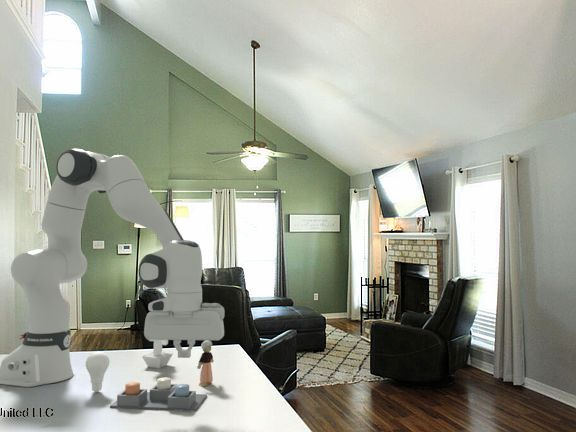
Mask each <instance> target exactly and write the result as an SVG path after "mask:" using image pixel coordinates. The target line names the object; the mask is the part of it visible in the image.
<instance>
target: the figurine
mask: <svg viewBox="0 0 576 432" xmlns="http://www.w3.org/2000/svg"><path fill="white" fill-rule="evenodd" d="M148 341H149V342H153V352H150V353H148V354H145V355H142V356H141V357H142V359H143V361H144V362H145V364H146V365H147V368H155V369H160V368H163V367H166V366H167V365H168V363H169V362H170V361H171V358H172V356H173V354H174V353H172V352H163V346H167V345H168V344H169V340H148Z"/></svg>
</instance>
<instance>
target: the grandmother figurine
mask: <svg viewBox="0 0 576 432" xmlns="http://www.w3.org/2000/svg"><path fill="white" fill-rule="evenodd" d="M212 346H213V342H212V340H203V342H202V343H201V345H200V347H201V349H202V352H203V353H201V356H200V358H199V360H198V363H197V369H198V370H200V376H199V383H198V386H200V387H207V386H208V385H211V384H213V379H214V378H213V369H212V363H214V357H213V353H212V352H211V351H212Z"/></svg>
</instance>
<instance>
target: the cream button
mask: <svg viewBox="0 0 576 432" xmlns="http://www.w3.org/2000/svg"><path fill="white" fill-rule="evenodd" d="M156 384H157V390H170V389H171V384H172V378H170V377H166V376H165V377H159V378H157V380H156Z"/></svg>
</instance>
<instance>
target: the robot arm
mask: <svg viewBox="0 0 576 432" xmlns="http://www.w3.org/2000/svg"><path fill="white" fill-rule="evenodd" d="M56 173H57V174H56V175H55V178H54V181H53V182H52V185H51V187H50V190H49V192H48V193H49V194H48V196H47V200H46V205H45V207H44V208H45V209H44V212H43V216H42V220H41V229H42V231H43V232H44V233H45V234H46V235H47V242H48V243H47V248H41V249H40V248H38V249H37V248H36V249H31V250H28V251H24V252H22V253H21V252H20V253H19V254H17V255H16V256H15V257H14V258H13V260H12V262H11V266H10V273H11V277H12V279H13V280H14V282H15V283H16V284H18V285H19V286H20V287H21V288H22V290H23V291H24V294H25V296H26V300H27V303H28V304H27V305H28V331H26V332H24V333H23V334H20V335H19V337H20V338H19V340H23V341H22V344H20V345H19V346H18V347H17V348H15V349H14V350H13V351H11V352H9V354H8V355H6V356H5V357H4V358H3V359H2V360H1V363H0V385H7V386H8V385H9V386H15V387H25V388H31V387H32V388H33V387H36V386H40V385H47V384H53V383H54V384H55V383H58V382H62V381H66V380H68V379H70V378H72V377H73V376H74V372H73V371H74V370H73V368H72V364H71V363H72V362H71V355H70V348H71V347H70V346H71V335H72V334H71V333H72V332H71V331H72V330H71V329H70V315H71V313H70V312H71V305H70V302H69V301H68V300H67V299H65V298H64V296H63V295H62V292H61V288H60V285H61V284H68V283H71V282H73V281H77V280H79V279H81V278H82V277H83V276H84V275H85V273H86V272H87V269H88V259H87V257H86V256H85V254H84V253H83V252H82V246H81V243H82V242H81V233H82V227H83V222H84V218H85V213H86V208H87V205H88V200H89V197H90V195H91V194H92V193H94V192H96V191H97V192H98V193H99V194H106V195H107V197H108V201H109V203H110V205H111V207H112V209H113V210H114V212H115V214H116V215H118V217H120V218H121V219H123V220H124V221H127V222H129V223H133V224H137V225H139V226H142V227H144V228H145V229H148V230H149V231H151V232H152V233H153V234H155V236H156V237H157V239H158V241H159V242H160V243H161V246H162V247H163V248H161V249H159V250H157V251H154V252H152V253H148V254H146V255H145V256H143V258H142V259H141V260H140V262H139V266H138V271H137V272H138V277H139V281H140V282H141V284H142V285H143V286H144V287H146V288H148V289H153V290H157V289H167V290H166V292H167V293H166V296H164V297H163V296H162V297H160V298H159V299H157V300H153V301H151V302H149V303H148V307H147V308H148V309H147V310H148V311H149V312H148V313H147V314H146V317H145V320H144V327H143V329H144V330H143V335H144V338H145V339H146V340H148V341H149V340H168V341H173V346H174V348H175V349H176V351H177V358H179V359H180V358H182V359H183V358H184V359H186V358H187V359H189V358H191V356H192V354H191V353H192V349H193V348H194V345H195V344H196V341H206V340H208V341H220V340H222V339H223V338H224V336H225V326H224V318H225V316H226V315H225V307H224V306H222V305H221V304H220V303H219V302H218V303H217V302H214V303H213V302H212V303H209V302H203V287H202V284H201V280H202V277H203V256H202V251H201V246H200V245H199V244H198V243H197V242H195V241H193V240H188V239H187V240H185V239H184V238H183V236H182V235H181V233H180V231H179V229H178V228H177V226H176V225H175V222H174V221H173V219H172V218H171V216H170V214H169V213H168V212H167V210H166V209H165V208H164V207H163V206H162V205H161V204H160V203H159V202H158V201H157V199H156V198H155V197H154V195H153V194H152V193H151V191H150V189H149V187H148V185H147V182H146V180H145V178H144V177H143V174H142V173H141V171H140V169H139V168H138V166H137V165H136V163H135V162H134V161H133V159H132V158H130V157H128V156H127V155H123V154H120V155H119V154H117V155H113V156H108V155H106V154H103V153H100V152H92V151H88V150H86V151H85V150H84V149H80V148H70V149H69V148H68V149H66V150H64V151H63V152H62V153H61V154H60V155H59V157H58V159H57V162H56ZM182 341H187V345H189V346H188V347H187V349H183V347H182V346H181V343H182Z"/></svg>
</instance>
